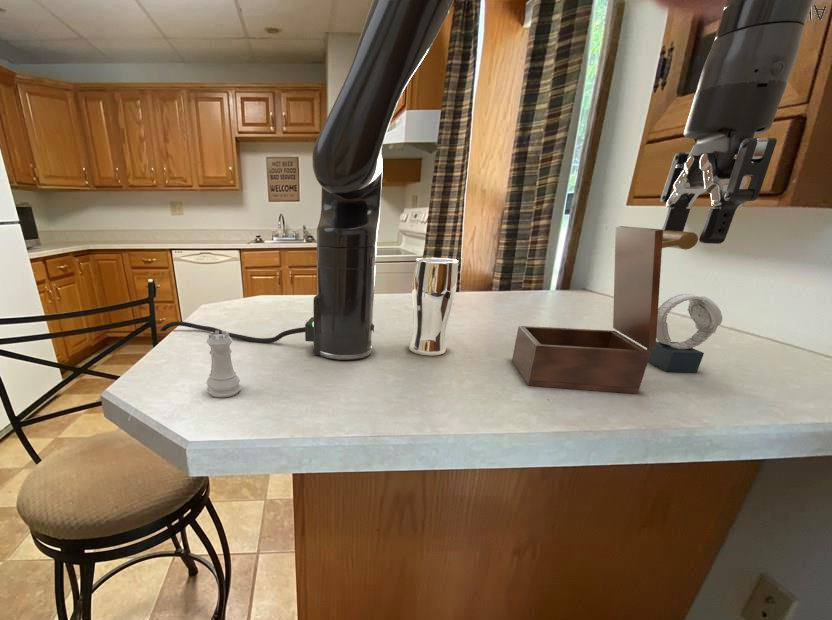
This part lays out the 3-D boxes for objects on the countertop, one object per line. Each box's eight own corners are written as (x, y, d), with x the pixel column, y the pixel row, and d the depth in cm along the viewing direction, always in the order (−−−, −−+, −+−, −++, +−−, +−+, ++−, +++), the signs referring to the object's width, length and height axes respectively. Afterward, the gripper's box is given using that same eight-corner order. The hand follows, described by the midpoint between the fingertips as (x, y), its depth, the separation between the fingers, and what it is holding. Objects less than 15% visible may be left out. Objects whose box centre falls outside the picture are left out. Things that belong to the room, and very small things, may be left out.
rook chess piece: (224, 401, 53) (219, 340, 50) (199, 393, 55) (192, 334, 52) (248, 389, 57) (244, 331, 54) (223, 382, 59) (218, 326, 56)
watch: (710, 373, 63) (739, 299, 59) (654, 371, 64) (678, 298, 60) (683, 360, 68) (708, 292, 64) (631, 359, 69) (652, 291, 65)
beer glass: (403, 353, 71) (410, 261, 65) (410, 342, 77) (418, 257, 71) (445, 358, 69) (457, 263, 63) (450, 346, 75) (461, 259, 69)
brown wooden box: (528, 385, 58) (536, 345, 56) (511, 360, 68) (518, 325, 66) (637, 394, 56) (651, 352, 54) (604, 366, 66) (615, 330, 63)
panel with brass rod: (655, 230, 49) (715, 219, 47) (615, 227, 58) (664, 217, 57) (648, 349, 54) (703, 342, 52) (612, 328, 63) (657, 321, 62)
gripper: (666, 102, 54) (629, 236, 60) (746, 68, 41) (688, 244, 47) (734, 99, 52) (689, 237, 59) (839, 64, 39) (767, 246, 46)
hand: (688, 240), depth 53 cm, fingers open, 8 cm apart
